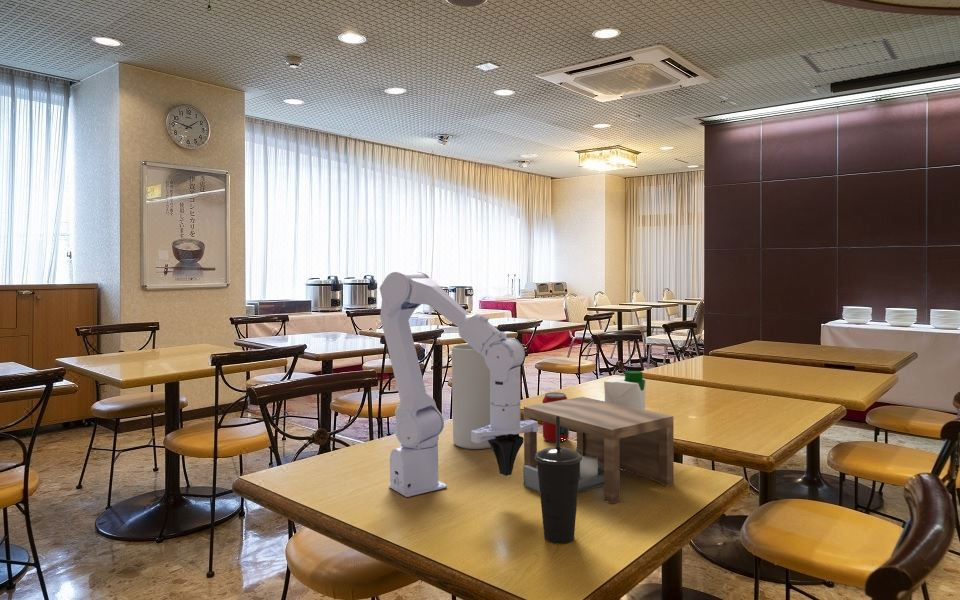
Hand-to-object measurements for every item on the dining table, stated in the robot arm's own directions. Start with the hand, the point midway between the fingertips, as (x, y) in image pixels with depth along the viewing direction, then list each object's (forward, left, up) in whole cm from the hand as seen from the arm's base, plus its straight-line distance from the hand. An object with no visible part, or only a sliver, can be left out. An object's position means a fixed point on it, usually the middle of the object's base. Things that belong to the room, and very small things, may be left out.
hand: (505, 473), depth 117 cm
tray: (+16, 0, -5) cm, 17 cm away
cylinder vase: (+19, +37, -6) cm, 42 cm away
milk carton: (+41, +7, -6) cm, 42 cm away
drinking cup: (-3, -18, -6) cm, 19 cm away
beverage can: (+37, +27, -6) cm, 46 cm away
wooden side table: (+24, 0, -5) cm, 25 cm away
